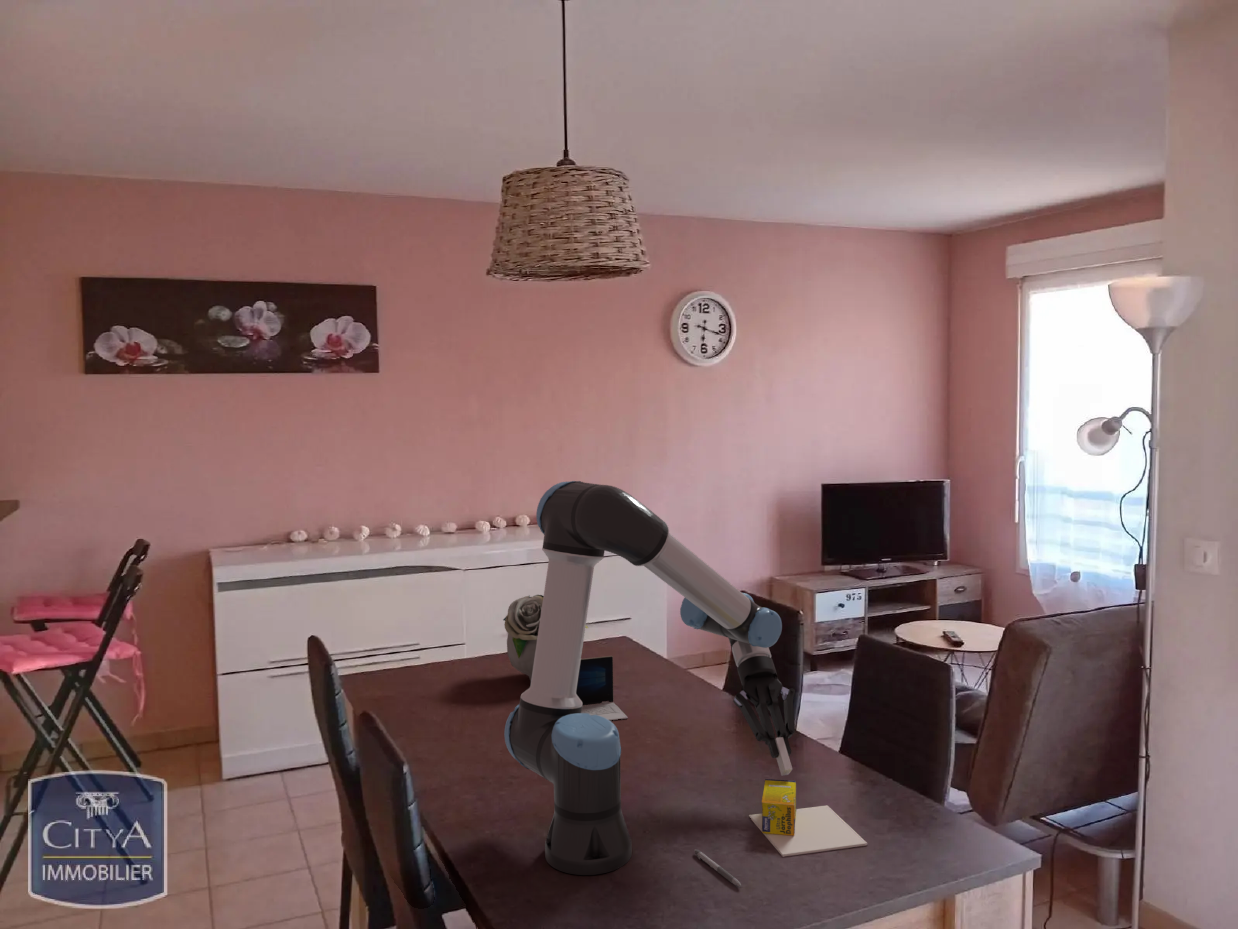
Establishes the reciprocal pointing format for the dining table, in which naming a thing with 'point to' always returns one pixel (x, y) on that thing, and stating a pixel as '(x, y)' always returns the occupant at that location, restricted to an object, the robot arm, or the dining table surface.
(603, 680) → the laptop
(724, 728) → the dining table surface
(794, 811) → the supplement box
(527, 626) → the flower arrangement
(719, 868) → the pen
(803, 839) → the mat
